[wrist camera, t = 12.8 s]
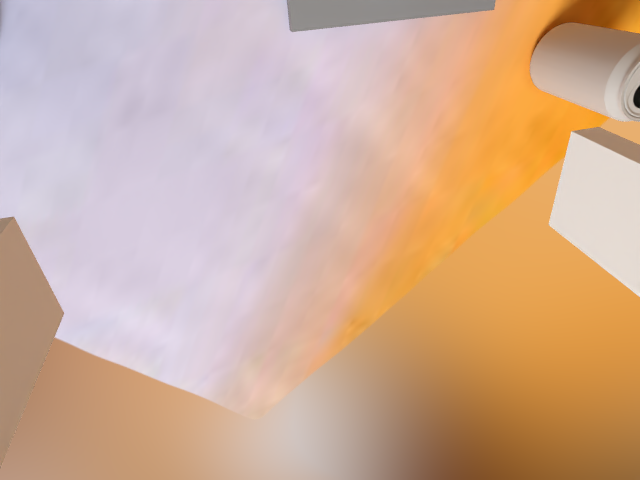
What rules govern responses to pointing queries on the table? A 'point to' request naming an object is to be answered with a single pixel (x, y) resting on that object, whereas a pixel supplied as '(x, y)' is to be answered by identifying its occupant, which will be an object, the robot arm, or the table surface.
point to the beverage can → (590, 68)
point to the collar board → (373, 11)
